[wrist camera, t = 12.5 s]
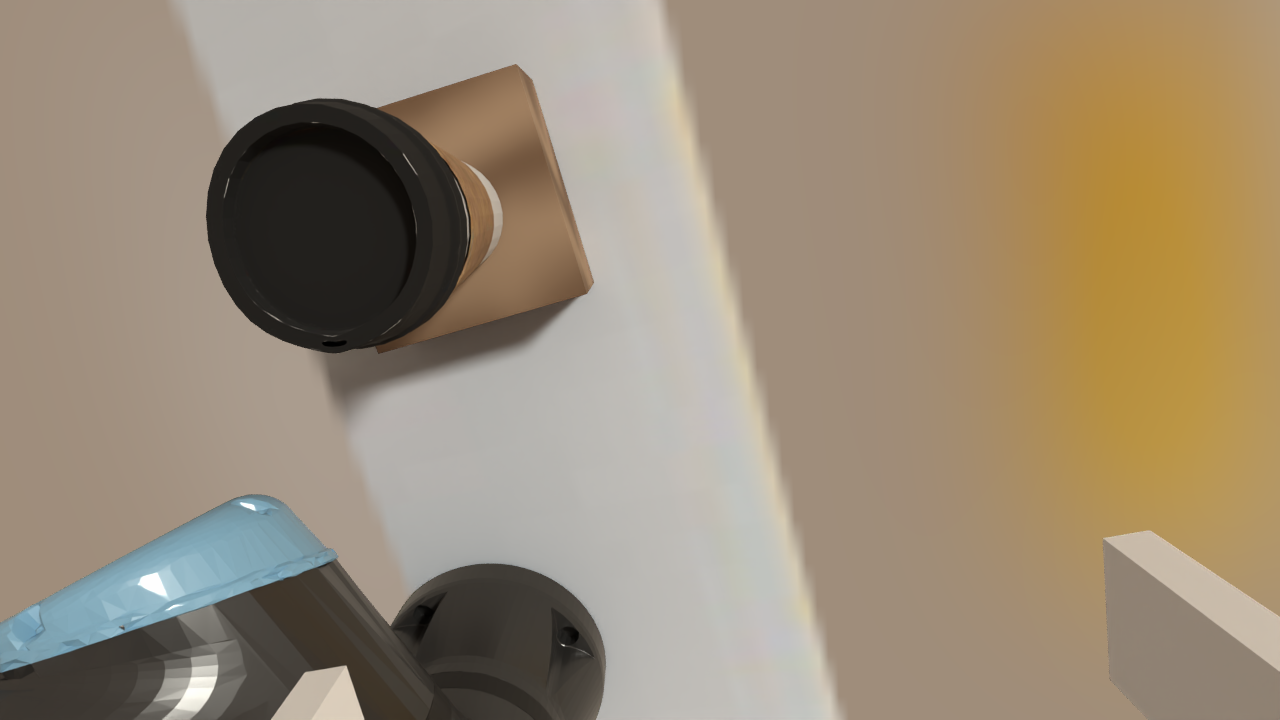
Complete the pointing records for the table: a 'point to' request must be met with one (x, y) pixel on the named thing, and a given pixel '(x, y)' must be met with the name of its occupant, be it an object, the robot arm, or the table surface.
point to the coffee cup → (344, 224)
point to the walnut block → (503, 199)
